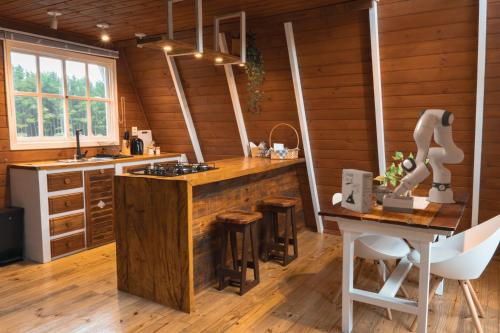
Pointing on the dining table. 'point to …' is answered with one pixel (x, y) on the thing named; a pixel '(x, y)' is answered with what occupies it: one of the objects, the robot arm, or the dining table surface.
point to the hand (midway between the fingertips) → (390, 197)
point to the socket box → (398, 204)
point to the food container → (381, 195)
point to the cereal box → (357, 190)
